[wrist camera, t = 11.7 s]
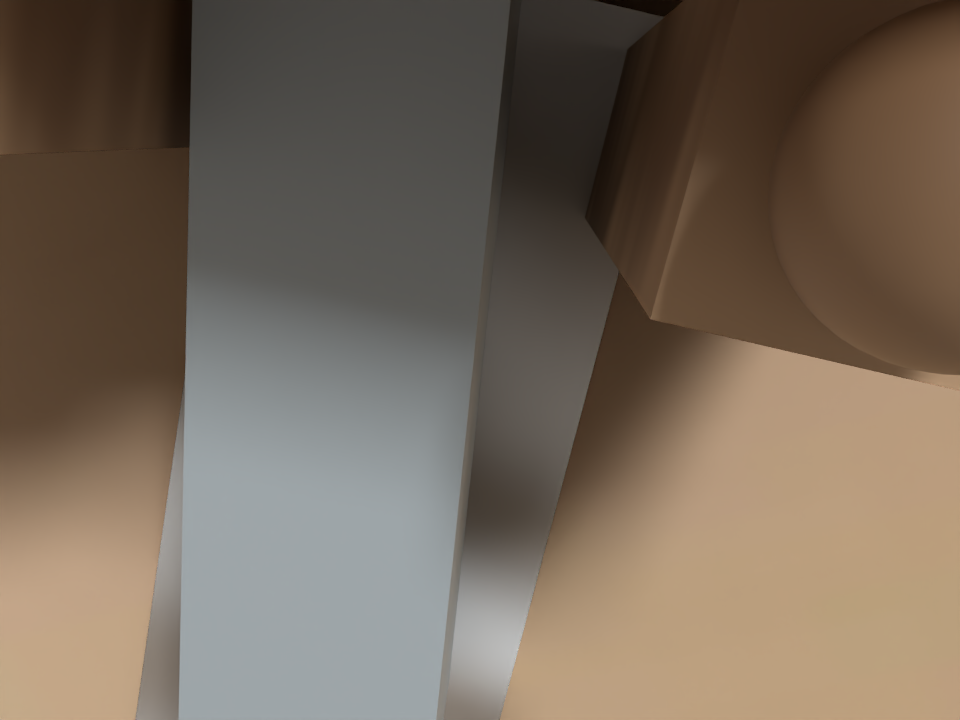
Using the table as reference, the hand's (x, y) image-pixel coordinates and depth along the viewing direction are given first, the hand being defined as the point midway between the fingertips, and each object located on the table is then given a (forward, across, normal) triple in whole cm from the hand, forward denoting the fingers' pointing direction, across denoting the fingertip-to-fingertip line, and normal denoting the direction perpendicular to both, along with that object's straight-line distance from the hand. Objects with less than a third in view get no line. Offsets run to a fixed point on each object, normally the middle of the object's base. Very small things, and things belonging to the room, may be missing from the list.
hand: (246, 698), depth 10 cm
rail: (+11, +1, -1) cm, 11 cm away
